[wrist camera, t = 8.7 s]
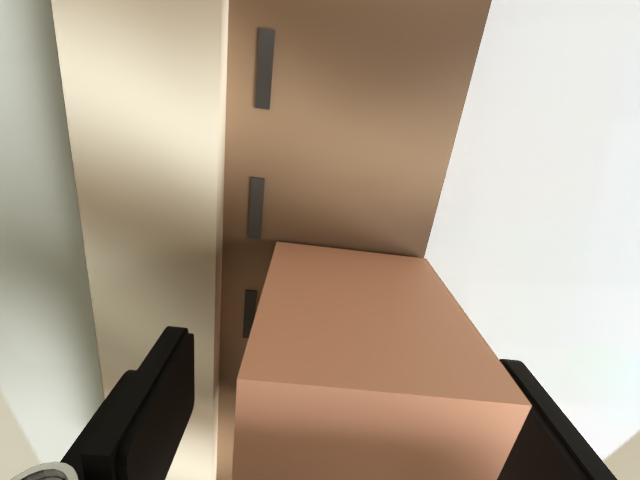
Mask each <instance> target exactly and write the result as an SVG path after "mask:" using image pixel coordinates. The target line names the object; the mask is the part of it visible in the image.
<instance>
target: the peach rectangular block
mask: <svg viewBox="0 0 640 480" xmlns="http://www.w3.org/2000/svg"><path fill="white" fill-rule="evenodd" d="M531 407H532V405H531V403H530V402H529V401H528V399H527V398H526V397H525V395H524V394H523V392H522V391H521V390H520V388H519V387H518V385H517V384H516V383H515V381H514V380H513V379H512V377H511V376H510V374H509V373H508V372H507V370H506V369H505V367H504V366H503V365H502V363H501V362H500V361H499V359H498V358H497V356H496V355H495V354H494V352H493V351H492V349H491V348H490V347H489V345H488V344H487V343H486V341H485V340H484V338H483V337H482V336H481V334H480V333H479V331H478V330H477V329H476V327H475V326H474V325H473V323H472V322H471V320H470V319H469V318H468V316H467V315H466V313H465V312H464V311H463V309H462V308H461V306H460V305H459V304H458V302H457V301H456V300H455V298H454V297H453V295H452V294H451V293H450V291H449V290H448V288H447V287H446V286H445V284H444V283H443V282H442V280H441V279H440V277H439V276H438V275H437V273H436V272H435V270H434V269H433V268H432V266H431V265H430V264H429V262H428V261H427V259H425V258H416V257H407V256H399V255H390V254H381V253H373V252H364V251H355V250H347V249H338V248H329V247H320V246H312V245H303V244H294V243H286V242H276V246H275V249H274V253H273V256H272V259H271V263H270V266H269V270H268V273H267V277H266V280H265V284H264V287H263V291H262V294H261V297H260V301H259V304H258V308H257V311H256V315H255V318H254V322H253V325H252V329H251V332H250V335H249V339H248V342H247V346H246V349H245V353H244V356H243V360H242V363H241V367H240V370H239V373H238V377H237V388H236V408H235V427H234V447H233V467H232V480H497V478H498V476H499V474H500V472H501V470H502V468H503V466H504V464H505V462H506V460H507V457H508V455H509V453H510V451H511V449H512V447H513V445H514V443H515V441H516V438H517V436H518V434H519V432H520V430H521V428H522V426H523V424H524V422H525V419H526V417H527V415H528V413H529V411H530V409H531Z"/></svg>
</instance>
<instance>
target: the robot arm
mask: <svg viewBox="0 0 640 480" xmlns="http://www.w3.org/2000/svg"><path fill="white" fill-rule="evenodd" d="M499 361H500V362H501V363H502V365H503V366H504V367H505V369H506V370H507V372H508V373H509V374H510V376H511V377H512V379H513V380H514V381H515V383H516V384H517V385H518V387H519V388H520V390H521V391H522V392H523V394H524V395H525V397H526V398H527V399H528V401H529V402H530V403H531V405H532V407H531V409H530V411H529V413H528V415H527V417H526V419H525V422H524V424H523V426H522V428H521V430H520V432H519V434H518V436H517V438H516V441H515V443H514V445H513V447H512V449H511V451H510V453H509V455H508V457H507V460H506V462H505V464H504V466H503V468H502V470H501V472H500V474H499V476H498V478H497V480H617V479H616V478H615V476H614V475H613V474H612V473H611V471H610V470H609V469H608V468H607V466H606V465H605V464H604V463H603V461H602V460H601V459H600V458H599V456H598V455H597V454H596V453H595V451H594V450H593V449H592V448H591V447H590V445H589V444H588V443H587V442H586V440H585V439H584V438H583V437H582V435H581V434H580V433H579V432H578V430H577V429H576V428H575V427H574V425H573V424H572V423H571V422H570V420H569V419H568V418H567V417H566V416H565V414H564V413H563V412H562V411H561V409H560V408H559V407H558V406H557V404H556V403H555V402H554V401H553V399H552V398H551V397H550V396H549V394H548V393H547V392H546V391H545V390H544V388H543V387H542V386H541V385H540V383H539V382H538V381H537V380H536V378H535V377H534V376H533V375H532V373H531V372H530V371H529V370H528V368H527V367H526V366H525V365H524V364H523V363H522V362H521V361H518V360H508V359H500V360H499ZM194 402H195V383H194V334H193V333H189V332H188V328H183V327H173V326H167V327H166V328H165V329H164V331H163V332H162V334H161V335H160V337H159V338H158V340H157V341H156V343H155V344H154V346H153V347H152V349H151V350H150V352H149V353H148V354H147V356H146V357H145V359H144V360H143V362H142V363H141V365H140V366H139V368H138V369H137V370H128V371H126V372H125V373H124V374H123V375H122V377H121V378H120V379H119V381H118V382H117V383H116V385H115V386H114V388H113V389H112V390H111V392H110V393H109V395H108V396H107V397H106V399H105V400H104V402H103V403H102V404H101V406H100V407H99V409H98V410H97V411H96V413H95V414H94V415H93V417H92V418H91V420H90V421H89V422H88V424H87V425H86V427H85V428H84V429H83V431H82V432H81V434H80V435H79V436H78V438H77V439H76V441H75V442H74V443H73V445H72V446H71V447H70V449H69V450H68V452H67V453H66V454H65V456H64V457H63V459H62V460H61V461H60V462H50V463H43V464H40V465H37V466H34V467H31V468H29V469H27V470H25V471H24V472H22V473H20V474H18V475H16V476H15V477H14V478H12V479H11V480H165V479H166V476H167V474H168V471H169V469H170V466H171V464H172V461H173V459H174V456H175V454H176V451H177V449H178V447H179V444H180V442H181V439H182V437H183V434H184V432H185V429H186V427H187V424H188V422H189V419H190V417H191V414H192V411H193V408H194Z"/></svg>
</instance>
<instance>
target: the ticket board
mask: <svg viewBox="0 0 640 480" xmlns="http://www.w3.org/2000/svg"><path fill="white" fill-rule="evenodd" d="M491 1H492V0H51V4H52V12H53V19H54V27H55V34H56V42H57V49H58V56H59V64H60V71H61V79H62V86H63V93H64V101H65V108H66V116H67V123H68V131H69V138H70V145H71V153H72V160H73V168H74V175H75V182H76V190H77V197H78V205H79V212H80V220H81V227H82V234H83V242H84V249H85V257H86V264H87V272H88V279H89V286H90V294H91V301H92V309H93V316H94V323H95V331H96V338H97V346H98V353H99V361H100V368H101V375H102V383H103V390H104V398H105V399H106V397H107V396H108V395H109V393H110V392H111V390H112V389H113V388H114V386H115V385H116V383H117V382H118V381H119V379H120V378H121V377H122V375H123V374H124V373H125V372H126V371H128V370H137V369H138V368H139V366H140V365H141V363H142V362H143V360H144V359H145V357H146V356H147V354H148V353H149V352H150V350H151V349H152V347H153V346H154V344H155V343H156V341H157V340H158V338H159V337H160V335H161V334H162V332H163V331H164V329H165V328H166V327H167V326H173V327H183V328H188V332H189V333H193V334H194V383H195V402H194V408H193V411H192V414H191V417H190V419H189V422H188V424H187V427H186V429H185V432H184V434H183V437H182V439H181V442H180V444H179V447H178V449H177V451H176V454H175V456H174V459H173V461H172V464H171V466H170V469H169V471H168V474H167V476H166V479H165V480H232V467H233V447H234V427H235V408H236V388H237V377H238V373H239V370H240V367H241V363H242V360H243V356H244V353H245V349H246V346H247V342H248V339H249V335H250V332H251V329H252V325H253V322H254V318H255V315H256V311H257V308H258V304H259V301H260V297H261V294H262V291H263V287H264V284H265V280H266V277H267V273H268V270H269V266H270V263H271V259H272V256H273V253H274V249H275V246H276V242H286V243H294V244H303V245H312V246H320V247H329V248H338V249H347V250H355V251H364V252H373V253H381V254H390V255H399V256H407V257H416V258H424V255H425V251H426V247H427V243H428V240H429V236H430V232H431V228H432V225H433V221H434V217H435V213H436V209H437V206H438V202H439V198H440V194H441V190H442V187H443V183H444V179H445V175H446V171H447V168H448V164H449V160H450V156H451V153H452V149H453V145H454V141H455V137H456V134H457V130H458V126H459V122H460V118H461V115H462V111H463V107H464V103H465V99H466V96H467V92H468V88H469V84H470V80H471V77H472V73H473V69H474V65H475V62H476V58H477V54H478V50H479V46H480V43H481V39H482V35H483V31H484V27H485V24H486V20H487V16H488V12H489V8H490V5H491Z"/></svg>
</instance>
